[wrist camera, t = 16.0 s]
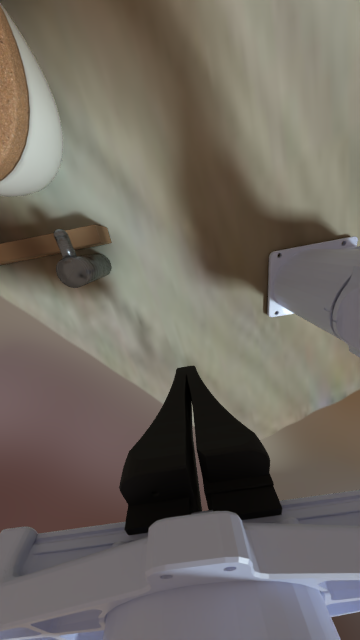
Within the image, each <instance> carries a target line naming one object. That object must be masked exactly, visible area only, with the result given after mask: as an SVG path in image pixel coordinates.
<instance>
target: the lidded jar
mask: <svg viewBox="0 0 360 640" xmlns="http://www.w3.org/2000/svg"><path fill="white" fill-rule="evenodd" d="M62 155H63V132H62V125H61V121H60V117H59V113H58V109H57V106H56V103H55V100H54V97H53V95H52V92H51V89H50V87H49V85H48V83H47V81H46V79H45V76H44V74H43V72H42V70H41V68H40V66H39V64H38V62H37V60H36V58H35V56H34V55H33V53H32V51H31V50H30V48H29V46H28V44H27V43H26V41H25V39H24V38H23V36H22V35H21V33H20V31H19V30H18V28H17V27H16V25H15V23H14V22H13V20H12V19H11V17H10V16H9V14H8V13H7V11H6V10H5V8H4V7H3V5H2V4H1V2H0V196H5V197H17V196H26V195H30V194H33V193H36V192H39V191H40V190H42V189H44V188H45V187H46V186H48V185H49V184H50V183H51V182H52V180H53V179H54V178H55V176H56V175H57V172H58V170H59V168H60V165H61V161H62Z"/></svg>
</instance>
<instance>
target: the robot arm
mask: <svg viewBox="0 0 360 640" xmlns="http://www.w3.org/2000/svg"><path fill="white" fill-rule="evenodd" d="M357 241H358V239H357V237H347V238H342V239H337V240H331V241H326V242H321V243H316V244H310V245H305V246H300V247H294V248H289V249H284V250H279V251H273V252H271V253H270V255H269V276H268V312H267V314H268V316H270V317H276V316H282V315H288V314H293V313H295V314H296V315H298V316H300V317H302V318H303V319H305V320H307V321H309V322H311V323H312V324H314V325H316V326H318V327H319V328H321V329H323V330H325V331H327V332H328V333H330V334H332V335H334V336H335V337H337V338H339V339H341V340H343V341H344V342H346V343H347V344H348V346H349V351H350V352H352V353H353V354H355V355H357V356H358V357H360V246H357ZM342 242H343V244H342ZM279 253H280V256H279V257H277V255H278V254H279ZM276 311H277V313H276V314H275V312H276ZM191 401H192V404H191ZM192 405H193V413H194V423H195V434H196V446H197V453H198V458H199V462H200V467H201V472H202V477H203V484H204V492H205V496H206V500H207V505H208V509H209V511H202V507H201V499H200V491H199V483H198V476H197V467H196V459H195V451H194V442H193V432H192ZM269 467H270V458H269V456H268V453H267V452H266V450H265V448H264V446H263V445H262V443H261V442H260V440H259V439H258V437H257V436H256V434H255V433H254V432H252V431H251V430H250V429H248V428H247V427H246V426H244V425H243V424H242V423H241V422H239V421H238V420H237V419H236V418H234V417H233V416H232V415H231V414H230V413H229V412H228V411H227V410H226V409H225V408H224V407H223V406H222V405H221V404H220V403H219V402H218V401H217V400H216V399H215V398H214V396H213V395H212V394H211V393H210V391H209V390H208V389H207V387H206V386H205V384H204V383H203V381H202V380H201V378H200V376H199V375H198V373H197V370H196V368H195V366H187V367H181V368H177V370H176V374H175V378H174V381H173V384H172V387H171V389H170V392H169V394H168V396H167V398H166V400H165V402H164V404H163V406H162V408H161V410H160V412H159V413H158V415H157V416H156V419H155V420H154V421H153V423H152V424H151V425H150V427H149V428H148V429H147V431H146V432H145V434H144V435H143V436H142V437H141V439H140V440H139V441H138V442H137V443H136V444H135V446H134V447H133V448H132V449H131V450H130V451H129V453H128V456H127V459H126V462H125V465H124V468H123V472H122V477H121V482H120V487H119V488H120V491H121V493H122V495H123V497H124V498H125V500H126V501H127V503H128V511H127V517H126V522H121V523H114V524H106V525H100V526H92V527H85V528H77V529H70V530H62V531H55V532H48V533H40V534H37V532H36V531H35V530H34V529H33V528H31V527H18V528H12V529H4V530H3V531H2V532H1V533H0V640H340V637H339V635H338V633H337V630H336V628H335V625H334V623H333V621H332V619H331V617H333V616H339V615H344V614H350V613H355V612H360V490H355V491H348V492H341V493H333V494H326V495H319V496H311V497H304V498H297V499H290V500H282V501H279V499H278V497H277V494H276V492H275V489H274V487H273V485H274V484H273V481H272V478H271V476H270V474H269V469H270V468H269Z"/></svg>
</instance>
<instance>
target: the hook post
mask: <svg viewBox="0 0 360 640" xmlns="http://www.w3.org/2000/svg"><path fill="white" fill-rule="evenodd" d="M54 238H55V240H56V242H57V245H58V247H59V249H60V252H61V254H62V257H63V259H61V260H60V261H59V262H58V263H57V266H56V272H57V275H58V277H59V279H60V280H61V281H62V282H63V283H64V284H65V285H67V286H69V287H72V288H78V287H81V286H83V285H85V284H88V283H90V282H92V281H95V280H97V279H99V278H101V277H104V276H106V275H108V274H109V273H110V271H111V263H110V261H109V259H108V258H107V257H106V256H104V255H101V254H95V255H86V256H76V253H75V250H74V248H73V245H72V243H71V240H70V238H69V235H68V233H67V232H66V231H64V230H62V229H57V230H55V231H54Z"/></svg>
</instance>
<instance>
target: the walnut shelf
mask: <svg viewBox="0 0 360 640" xmlns="http://www.w3.org/2000/svg"><path fill="white" fill-rule="evenodd" d="M65 231H66V232H67V233H68V235H69V238H70V240H71V243H72V245H73V248H74V250H79V249H84V248H89V247H94V246H99V245H104V244H109V243H112V242H111V239H110V236H109V233H108V230H107V228H106V227H103V226H99V225H90V226H85V227H80V228H75V229H70V230H65ZM59 253H61V252H60V249H59V247H58V245H57V242H56V240H55V238H54V233H51V234H46V235H41V236H36V237H31V238H26V239H21V240H16V241H12V242H7V243H2V244H0V265H4V264H9V263H14V262H19V261H24V260H29V259H34V258H39V257H44V256H49V255H54V254H59Z"/></svg>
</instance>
